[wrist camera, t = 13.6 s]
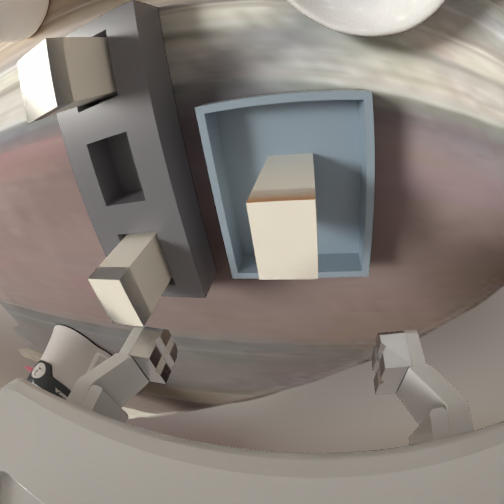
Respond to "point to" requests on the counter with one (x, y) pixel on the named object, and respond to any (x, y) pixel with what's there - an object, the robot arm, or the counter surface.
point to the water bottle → (21, 18)
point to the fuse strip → (139, 152)
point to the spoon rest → (368, 14)
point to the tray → (296, 142)
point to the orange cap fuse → (285, 218)
